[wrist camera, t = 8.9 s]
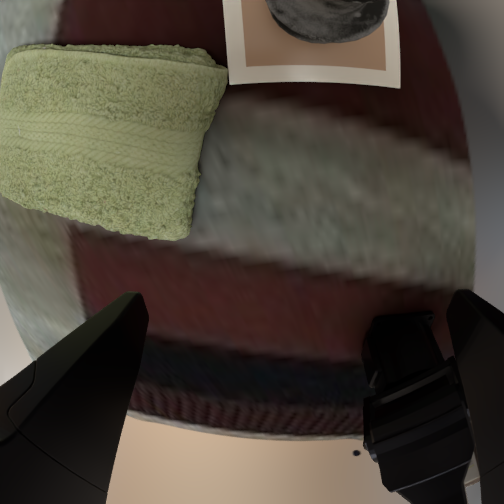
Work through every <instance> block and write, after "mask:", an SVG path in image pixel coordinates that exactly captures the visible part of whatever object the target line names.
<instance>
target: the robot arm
mask: <svg viewBox="0 0 504 504" xmlns="http://www.w3.org/2000/svg"><path fill="white" fill-rule="evenodd" d="M434 318H435V315H434V313H433V312H432V311H430V312H422V313H413V314H404V315H394V316H384V317H377V318H375V319H374V320H373V322H372V326H371V329H370V333H369V336H368V337H367V338H366V340H365V343H364V347H363V350H362V353H361V355H362V362H363V363H364V367H365V372H366V376H367V380H368V385H369V386H370V387H375V392H376V395H374V396H371V397H370V396H369V397H366V398H364V407H363V422H364V441H363V447H364V449H366V450H367V451H369V453H370V456H371V458H372V459H373V461H374V462H376V463H378V464H379V468H380V473H381V479H382V483H383V485H384V486H385V487H386V488H387V489H388V491H389V492H395V491H396V492H397V493H399V494H400V495H401V496H402V497H403V498H405V499H406V500H407V501H409V502H410V503H411V504H468V499H467V493H466V488H465V484H464V480H465V477H466V474H467V471H468V468H469V465H470V462H471V459H472V455H473V452H474V448H475V445H476V452H477V459H478V466H479V475H480V487H481V501H482V504H504V313H502V312H501V311H500V310H498V309H497V308H496V307H494V306H493V305H491V304H490V303H488V302H487V301H485V300H484V299H482V298H481V297H479V296H478V295H477V294H475V293H474V292H472V291H471V290H469V289H458V290H456V291H455V293H454V295H453V297H452V300H451V302H450V304H449V307H448V309H447V313H446V318H447V322H448V326H449V331H450V335H451V339H452V344H453V349H454V354H455V358H456V360H455V358H454V356H451V357H449V358H448V360H446V361H445V360H444V358H443V356H442V353H441V351H440V349H439V346H438V344H437V342H436V340H435V337H434V335H433V333H432V331H431V329H430V327H431V325H432V323H433V320H434ZM148 322H149V315H148V311H147V308H146V305H145V302H144V299H143V296H142V294H141V293H139V292H126V293H124V294H123V295H121V296H120V297H118V298H117V299H116V300H114V301H113V302H112V303H110V304H109V305H107V306H106V307H105V308H103V309H102V310H101V311H99V312H98V313H96V314H95V315H94V316H92V317H91V318H90V319H88V320H87V321H86V322H84V323H83V324H82V325H80V326H79V327H78V328H76V329H75V330H74V331H72V332H71V333H70V334H68V335H67V336H66V337H64V338H63V339H62V340H60V341H59V342H58V343H57V344H55V345H54V346H53V347H51V348H50V349H49V350H47V351H46V352H45V353H44V354H42V355H41V356H40V357H38V358H37V361H36V360H35V361H33V362H32V363H31V364H30V365H28V366H27V367H26V368H24V369H23V370H22V371H21V372H19V373H18V374H17V375H15V376H14V377H13V378H11V379H10V380H8V381H7V382H6V383H4V384H3V385H1V386H0V504H106V499H107V492H108V488H109V483H110V479H111V474H112V470H113V465H114V461H115V457H116V452H117V448H118V444H119V440H120V436H121V432H122V428H123V425H124V421H125V417H126V413H127V410H128V406H129V403H130V399H131V396H132V392H133V389H134V385H135V382H136V378H137V375H138V371H139V368H140V363H141V358H142V353H143V347H144V342H145V337H146V332H147V327H148ZM471 423H472V426H471ZM472 428H473V429H472Z"/></svg>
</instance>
